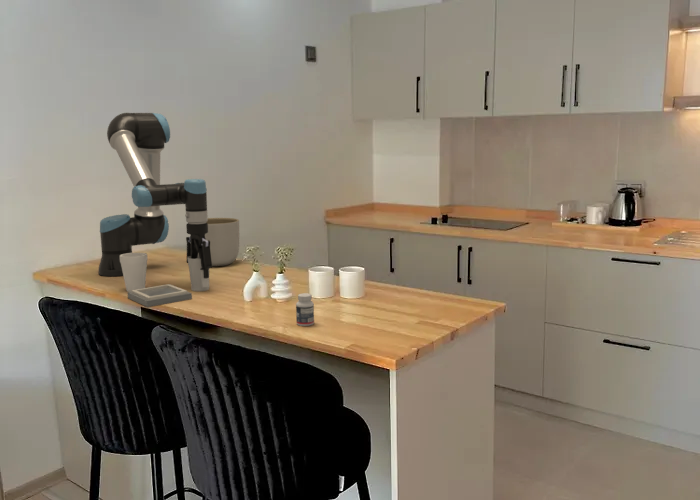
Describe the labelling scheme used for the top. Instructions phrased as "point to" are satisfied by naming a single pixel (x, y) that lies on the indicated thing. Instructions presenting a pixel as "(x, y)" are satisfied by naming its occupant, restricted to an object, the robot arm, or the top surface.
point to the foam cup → (134, 270)
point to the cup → (195, 274)
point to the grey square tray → (159, 295)
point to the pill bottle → (305, 310)
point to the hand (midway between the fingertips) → (200, 284)
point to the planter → (223, 240)
